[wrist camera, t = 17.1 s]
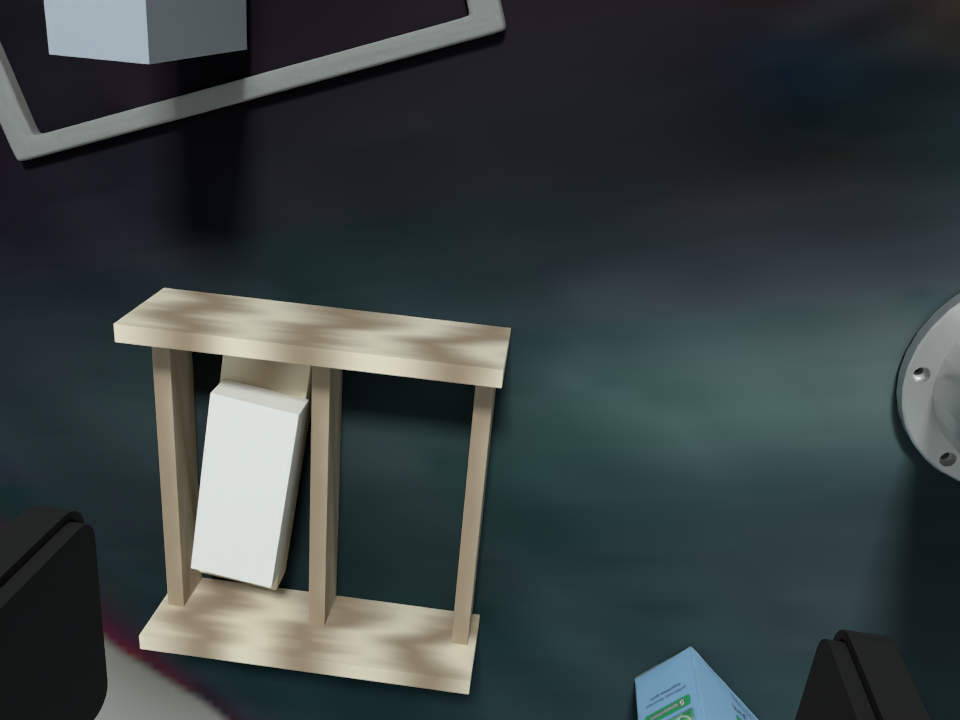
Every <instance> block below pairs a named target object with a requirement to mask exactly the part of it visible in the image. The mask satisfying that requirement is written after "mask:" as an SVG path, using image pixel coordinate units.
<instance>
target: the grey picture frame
mask: <svg viewBox="0 0 960 720" xmlns="http://www.w3.org/2000/svg"><path fill="white" fill-rule="evenodd" d="M467 5H468V9H469V15H468V16H466V17H464V18H460V19H457V20H454V21H450V22H447V23H443V24H439V25H436V26H432V27H428V28H425V29H421V30H418V31H414V32H410V33H407V34H403V35H399V36H396V37H392V38H389V39H385V40H381V41H378V42H374V43H371V44H367V45H363V46H360V47H356V48H352V49H349V50H345V51H342V52H338V53H334V54H331V55H327V56H323V57H320V58H316V59H313V60H309V61H305V62H302V63H298V64H294V65H291V66H287V67H284V68H280V69H276V70H273V71H269V72H266V73H262V74H258V75H255V76H251V77H247V78H244V79H240V80H237V81H233V82H229V83H226V84H222V85H218V86H215V87H211V88H208V89H204V90H200V91H197V92H193V93H189V94H186V95H182V96H179V97H175V98H171V99H168V100H164V101H161V102H157V103H153V104H150V105H146V106H142V107H139V108H135V109H132V110H128V111H124V112H121V113H117V114H113V115H110V116H106V117H103V118H99V119H95V120H92V121H88V122H84V123H81V124H77V125H74V126H70V127H66V128H63V129H59V130H56V131H52V132H48V133H43V134H42V133H40V132H39V131H38V129H37V127H36V124H35V122H34V120H33V118H32V115H31V113H30V110H29V108H28V106H27V103H26V101H25V99H24V96H23V94H22V92H21V89H20V87H19V85H18V82H17V80H16V78H15V75H14V73H13V71H12V68H11V66H10V64H9V61H8V59H7V57H6V54H5V52H4V50H3V47H2V45H1V43H0V123H1V126H2V128H3V130H4V132H5V135H6V137H7V139H8V142H9V144H10V146H11V148H12V150H13V153H14V155H15V156H16V158H17V159H18V160H19V161H24V160H29V159H33V158H37V157H41V156H45V155H49V154H52V153H56V152H60V151H63V150H67V149H71V148H74V147H78V146H82V145H86V144H89V143H93V142H97V141H100V140H104V139H108V138H111V137H115V136H119V135H122V134H126V133H130V132H133V131H137V130H141V129H145V128H148V127H152V126H156V125H159V124H163V123H167V122H170V121H174V120H178V119H181V118H185V117H189V116H193V115H196V114H200V113H204V112H207V111H211V110H215V109H218V108H222V107H226V106H229V105H233V104H237V103H241V102H244V101H248V100H252V99H255V98H259V97H263V96H266V95H270V94H274V93H277V92H281V91H285V90H289V89H292V88H296V87H300V86H303V85H307V84H311V83H314V82H318V81H322V80H325V79H329V78H333V77H336V76H340V75H344V74H348V73H351V72H355V71H359V70H362V69H366V68H370V67H373V66H377V65H381V64H384V63H388V62H392V61H396V60H399V59H403V58H407V57H410V56H414V55H418V54H421V53H425V52H429V51H432V50H436V49H440V48H444V47H447V46H451V45H455V44H458V43H462V42H466V41H469V40H473V39H477V38H480V37H484V36H488V35H491V34H495V33H498V32H501V31H504V30H505V29H506V24H505V18H504V14H503V9H502V5H501V1H500V0H467Z"/></svg>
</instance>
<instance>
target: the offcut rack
mask: <svg viewBox="0 0 960 720" xmlns="http://www.w3.org/2000/svg"><path fill="white" fill-rule="evenodd" d="M510 333H511V328H506V327H497V326H488V325H480V324H471V323H462V322H454V321H445V320H437V319H428V318H419V317H411V316H402V315H394V314H385V313H376V312H368V311H359V310H350V309H342V308H333V307H325V306H316V305H307V304H299V303H290V302H282V301H273V300H264V299H256V298H247V297H238V296H230V295H221V294H213V293H204V292H195V291H187V290H178V289H169V288H163V289H162V290H160V291H159V292H157V293H156V294H155V295H153V296H152V297H150V298H149V299H148V300H146V301H145V302H143V303H142V304H141V305H139V306H138V307H136V308H135V309H134V310H132V311H131V312H129V313H128V314H127V315H125V316H124V317H122V318H121V319H120V320H118V321H117V322H115V323H114V336H115V342H119V343H127V344H136V345H144V346H152V357H153V373H154V388H155V404H156V419H157V435H158V450H159V466H160V481H161V497H162V512H163V528H164V544H165V559H166V575H167V590H168V594H167V595H166V597H165V598H164V599H163V601H162V602H161V604H160V605H159V607H158V608H157V610H156V611H155V613H154V614H153V616H152V617H151V619H150V620H149V622H148V623H147V625H146V626H145V628H144V629H143V631H142V632H141V633H140V635H139V641H140V649H146V650H153V651H160V652H167V653H174V654H181V655H189V656H196V657H203V658H210V659H217V660H225V661H232V662H239V663H246V664H253V665H261V666H268V667H275V668H282V669H289V670H296V671H304V672H311V673H318V674H325V675H332V676H340V677H347V678H354V679H361V680H368V681H375V682H383V683H390V684H397V685H404V686H411V687H419V688H426V689H433V690H440V691H447V692H455V693H462V694H469V690H470V683H471V676H472V669H473V662H474V655H475V648H476V641H477V635H478V628H479V619H480V615H477V614H472V612H473V602H474V593H475V583H476V574H477V564H478V554H479V545H480V535H481V526H482V516H483V506H484V497H485V487H486V478H487V468H488V459H489V449H490V439H491V430H492V420H493V411H494V401H495V391H496V388H502V383H503V378H504V372H505V366H506V361H507V355H508V349H509V343H510ZM192 351H194V352H202V353H211V354H219V355H227V356H236V357H244V358H252V359H261V360H269V361H278V362H286V363H294V364H303V365H311V366H312V407H311V482H310V556H309V592H306V591H299V590H291V589H284V588H277V590H272V589H268V588H264V587H260V586H255V585H251V584H246V583H239V582H231V581H224V580H216V579H209V578H202V572H199V570H196V569H192V568H191V561H192V552H193V543H194V534H195V525H196V516H197V508H198V499H199V491H198V469H197V447H196V424H195V402H194V380H193V358H192ZM343 369H344V370H353V371H361V372H369V373H378V374H386V375H394V376H403V377H411V378H419V379H428V380H436V381H444V382H453V383H461V384H469V385H476V386H475V397H474V407H473V418H472V429H471V439H470V450H469V460H468V471H467V482H466V492H465V503H464V513H463V524H462V535H461V545H460V556H459V567H458V577H457V588H456V598H455V609H454V611H448V610H440V609H433V608H425V607H418V606H410V605H403V604H395V603H388V602H381V601H373V600H366V599H358V598H351V597H343V596H336V585H337V549H338V514H339V479H340V444H341V408H342V373H343Z"/></svg>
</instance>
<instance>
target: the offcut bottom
mask: <svg viewBox="0 0 960 720" xmlns="http://www.w3.org/2000/svg"><path fill="white" fill-rule="evenodd" d="M223 379H227V380H232V381H236V382H240V383H244V384H248V385H252V386H256V387H260V388H264V389H268V390H272V391H276V392H280V393H284V394H288V395H292V396H296V397H301V398H305V399H309V403H308V409H307V415H306V421H305V427H304V433H303V439H302V446H301V452H300V458H299V464H298V470H297V476H296V482H295V488H294V494H293V501H292V507H291V513H290V519H289V525H288V531H287V537H286V543H285V549H284V556H283V562H282V568H281V570H280V572H279V574H278V576H277V578H276V580H275V582H274V584H273V586H272V588H268V587H264V586H260V585H256V584H252V583H248V582H244V581H240V580H236V579H232V578H228V577H224V576H220V575H216V574H212V573H208V572H204V571H200V570H199V572H202V573H206V574H210V575H214V576H218V577H222V578H226V579H231V580H235V581H239V582H243V583H247V584H251V585H255V586H260V587H264V588H268V589H272V590H277V588H278V586H279V584H280V582H281V580H282V577H283V575H284V573H285V571H286V565H287V558H288V552H289V546H290V539H291V533H292V527H293V520H294V514H295V508H296V501H297V495H298V489H299V482H300V476H301V470H302V463H303V457H304V451H305V445H306V438H307V432H308V426H309V419H310V413H311V407H312V366H311V365H303V364H294V363H286V362H278V361H269V360H261V359H252V358H244V357H236V356H227V355H223V358H222V367H221V377H220V382H221V381H222V380H223Z"/></svg>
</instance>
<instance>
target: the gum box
mask: <svg viewBox="0 0 960 720" xmlns="http://www.w3.org/2000/svg"><path fill="white" fill-rule="evenodd" d="M635 688H636V700H637V713H638V720H758V719H757V718H756V717H755V715H754V714H753V713H752V712H751V711H750V710H749V709H748V708H747V707H746V705H745V704H744V703H743V702H742V701H741V700H740V699H739V698H738V697H737V696H736V695H735V693H734V692H733V691H732V690H731V689H730V688H729V687H728V686H727V685H726V684H725V682H724V681H723V680H722V679H721V678H720V677H719V676H718V675H717V674H716V673H715V672H714V671H713V670H712V669H711V668H710V667H709V665H708V664H707V663H706V662H705V661H704V660H703V659H702V657H701V656H700V655H699V654H698V653H697V652H696V651H695V650H694V649H693V648H692V647H688V648H687V649H685V650H684V651H682V652H680V653H678V654H676V655H674V656H673V657H671V658H669V659H667V660H666V661H664V662H662V663H660V664H658V665H656V666H654V667H653V668H651V669H649V670H648V671H646V672H644V673H642V674H641V675H639V676H637V677H636V678H635Z"/></svg>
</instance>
